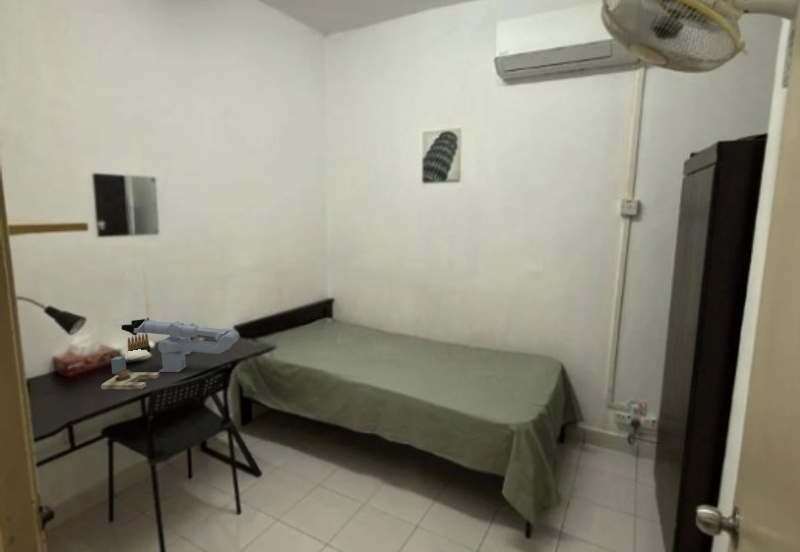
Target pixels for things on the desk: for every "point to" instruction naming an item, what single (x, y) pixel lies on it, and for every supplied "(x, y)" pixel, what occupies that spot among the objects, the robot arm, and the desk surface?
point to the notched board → (129, 380)
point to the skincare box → (186, 339)
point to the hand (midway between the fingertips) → (126, 325)
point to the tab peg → (118, 364)
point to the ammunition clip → (139, 343)
